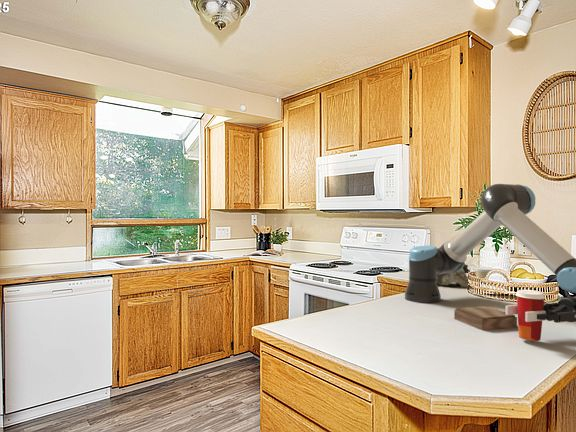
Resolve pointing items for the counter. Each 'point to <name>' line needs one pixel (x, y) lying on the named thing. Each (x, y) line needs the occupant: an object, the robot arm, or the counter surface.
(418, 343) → the counter surface
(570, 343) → the counter surface
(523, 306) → the paper cup
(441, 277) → the hollow geode rock
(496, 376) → the counter surface
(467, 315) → the walnut plinth
